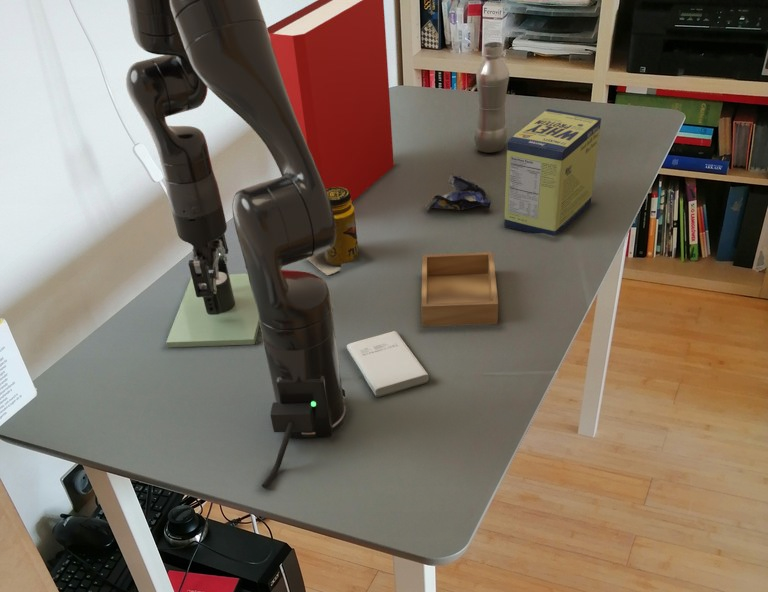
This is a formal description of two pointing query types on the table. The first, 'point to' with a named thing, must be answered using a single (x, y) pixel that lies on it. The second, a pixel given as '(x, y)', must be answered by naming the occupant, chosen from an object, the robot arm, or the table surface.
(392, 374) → the hard drive
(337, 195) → the condiment
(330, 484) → the table surface
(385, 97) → the book
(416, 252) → the table surface
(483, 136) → the plastic bottle
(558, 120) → the protein box
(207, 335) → the sushi plate
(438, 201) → the snack package
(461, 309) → the bento box
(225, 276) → the sushi roll
